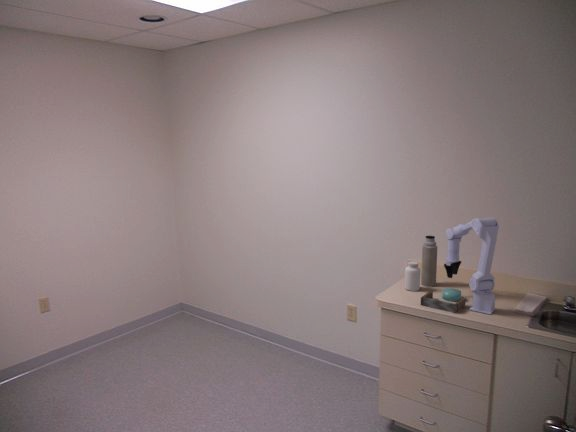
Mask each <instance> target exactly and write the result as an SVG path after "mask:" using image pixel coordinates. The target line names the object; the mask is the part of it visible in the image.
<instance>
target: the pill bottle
mask: <svg viewBox="0 0 576 432" xmlns="http://www.w3.org/2000/svg"><path fill="white" fill-rule="evenodd" d="M404 274H405V275H404V289H405V290H406V291H409V292H419V291H420V288H421V268H420V267H419V262H417V261H409V262H408V263H407V266H406V267H405V270H404Z"/></svg>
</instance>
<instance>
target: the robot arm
mask: <svg viewBox="0 0 576 432" xmlns="http://www.w3.org/2000/svg"><path fill="white" fill-rule="evenodd" d="M499 227H500V224H499V222H498V220H497V218H495V217H484V218H478V217H477V218H476V217H475V218H472V219H471V221H469V222H467V223H463V222H461V223H459V224H458V225H455V226H453V228H452V227H451V228H447V229H446V231H445V237H446V239H447V256H446V257H444V260H446V262H445V263H444V264H443V267H444V268H445V271H446V275H447V277H446V278H448V279H452V278H453V275H457V274H458V272H459V268H460V266H461V264H462V261H461V260H460V243H461V241H462V238H463V237H464V236H466V235H468V234H469V233H470V231H472V230H473V231H474V232H475V234H476V235H477V237H478V238H480V239H482V243H481V249H480V250H481V251H480V255H479V262H478V266H477V271H476V272H474V273H473V274H472V275H471V278H470V280H469V283H468V284H469V288H470V290H471V292H472V304H471V305H472V306H471V307H470V308H469V310H470V311H473V312H478V313H482V314H488V315H492V313H493V312H494V311H495V310H496V294H495V293H492V291H493V290H494V289H495V276H494V275H493V274H492V273H491V271H492V270H491V269H492V266H493V260H494V255H495V250H496V245H497V238H498V237H497V236H498V231H499Z"/></svg>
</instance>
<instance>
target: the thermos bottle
mask: <svg viewBox="0 0 576 432" xmlns="http://www.w3.org/2000/svg"><path fill="white" fill-rule="evenodd" d="M421 247H422V248H421V249H422V250H421V251H422V252H421V273H420V286H421V285H422V286H423V287H429V288H432V287H436V285H437V270H438V269H437V264H438V263H437V262H438V245H437V242H436V239H435V236H434V235H426V236H425V240H424V241H423V245H422V246H421Z"/></svg>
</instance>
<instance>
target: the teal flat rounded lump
mask: <svg viewBox="0 0 576 432" xmlns="http://www.w3.org/2000/svg"><path fill="white" fill-rule="evenodd" d="M441 295H442V296H441V298H442V299H443V301H445V302H450V303H455V302H456V303H457V302H458V301H459V300H461V299H462V291H461V290H459V289H456V288H449V287H447V288H443V289H442V294H441Z"/></svg>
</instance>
